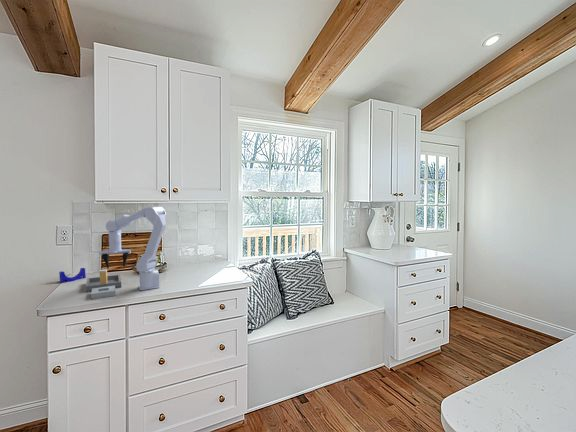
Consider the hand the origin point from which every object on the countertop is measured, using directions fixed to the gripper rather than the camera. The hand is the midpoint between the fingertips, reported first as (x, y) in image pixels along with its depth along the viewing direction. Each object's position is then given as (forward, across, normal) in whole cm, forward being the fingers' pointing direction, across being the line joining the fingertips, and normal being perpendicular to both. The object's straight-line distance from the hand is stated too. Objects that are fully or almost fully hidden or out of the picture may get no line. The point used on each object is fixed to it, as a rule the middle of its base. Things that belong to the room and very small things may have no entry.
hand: (116, 267), depth 163 cm
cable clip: (+11, -26, +23) cm, 36 cm away
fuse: (+10, -7, +3) cm, 12 cm away
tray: (+10, -7, +4) cm, 13 cm away
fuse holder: (+10, -4, -14) cm, 18 cm away
